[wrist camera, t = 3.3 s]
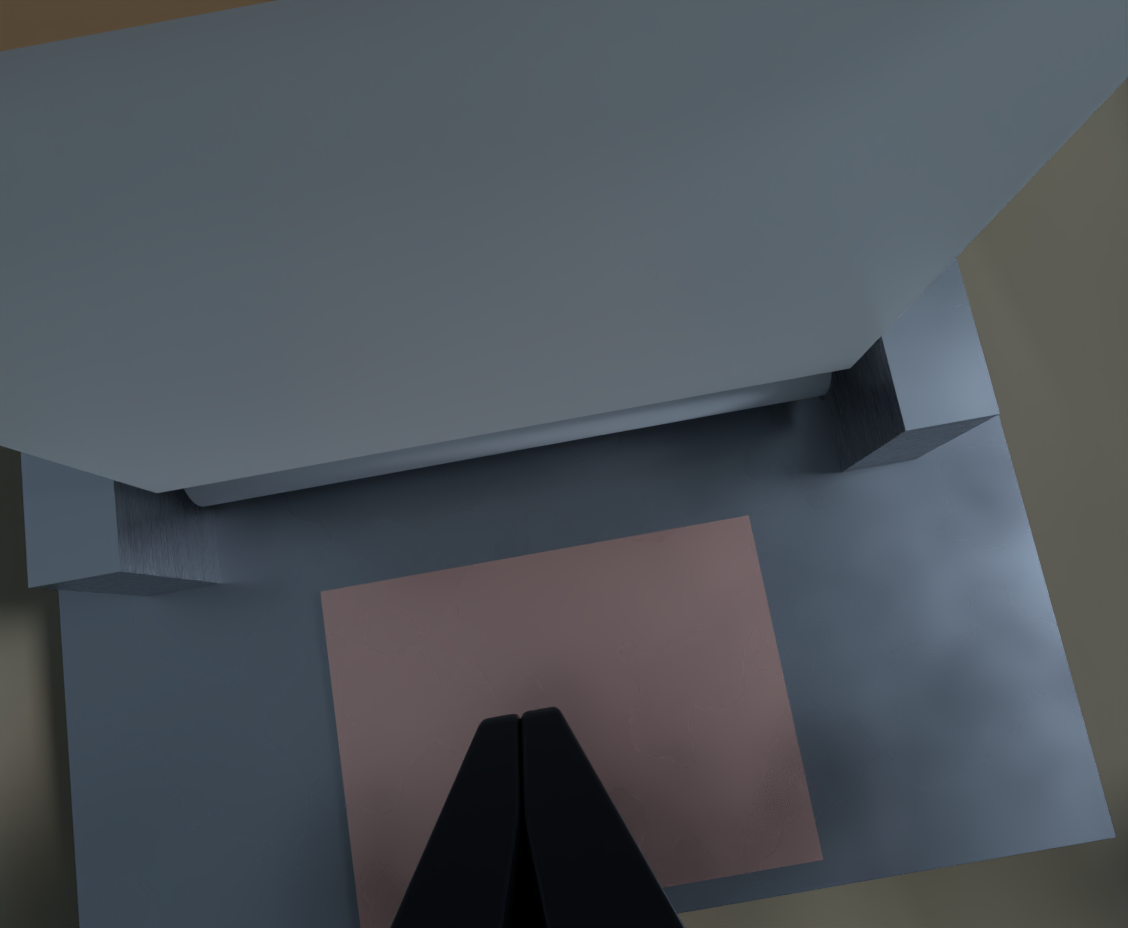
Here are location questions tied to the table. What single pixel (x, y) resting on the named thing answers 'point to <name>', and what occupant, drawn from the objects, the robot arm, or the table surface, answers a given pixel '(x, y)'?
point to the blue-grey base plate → (578, 653)
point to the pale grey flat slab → (485, 214)
